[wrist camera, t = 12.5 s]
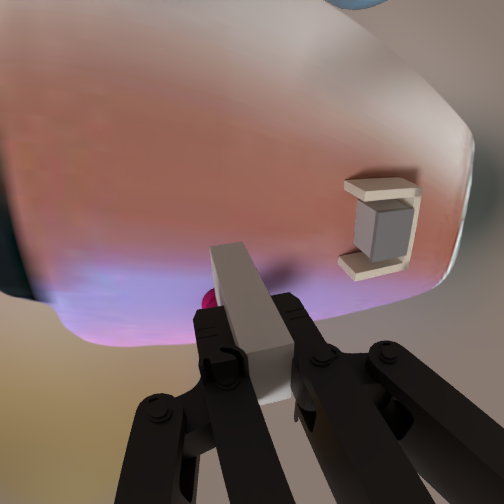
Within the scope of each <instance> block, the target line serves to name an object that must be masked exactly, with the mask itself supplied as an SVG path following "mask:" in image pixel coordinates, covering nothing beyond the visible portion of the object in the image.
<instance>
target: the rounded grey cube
mask: <svg viewBox="0 0 504 504" xmlns="http://www.w3.org/2000/svg"><path fill="white" fill-rule="evenodd" d="M414 210H415V209H414V208H413V207H408V206H406V205H404V204H402V203H401V202H399V201H397V200H395V199H386V200H375V201H365V202H364V201H362V200H357V211H356V222H355V232H354V241H353V244H354V245H355V246H357V247H358V248H359V249H360V250H361V251H362V252H363V253H364V254H366V255H367V256H368V257H369V258H370V259H369V260H370V261H371V262H372V263H373V262H377V261H382V260H387V259H392V258H396V257H401V256H406V255H407V250H408V245H409V240H410V234H411V229H412V223H413V217H414Z"/></svg>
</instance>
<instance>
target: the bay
mask: <svg viewBox="0 0 504 504" xmlns="http://www.w3.org/2000/svg"><path fill="white" fill-rule="evenodd" d="M344 190H346V191H348V192H349V193H351V194H353V195H354V196H356V197H358V198H359V199H361V200H362V201H364V202H365V201H375V200H386V199H395V200H397V201H399V202H401V203H402V204H404V205H406V206H408V207H413V208H414V209H415V210H414V217H413V223H412V229H411V234H410V240H409V245H408V250H407V255H406V256H401V257H396V258H392V259H387V260H382V261H377V262H373V263H372V262H371V261H370V260H369V259H370V258H369V257H368V256H367V255H366V254H364V253H363V252H358V253H353V254H347V255H342V256H339V258H338V264H339V265H340V266H341V267H342V268H343V270H344V271H345V272H346V273H347V274H348V275H349V276H350V277H351V278H352V279H353V280H354V281H359V280H363V279H368V278H372V277H376V276H380V275H385V274H389V273H393V272H397V271H401V270H405V269H408V266H409V261H410V257H411V252H412V247H413V242H414V237H415V231H416V226H417V220H418V214H419V207H420V200H421V193H422V187H420V186H418V185H416V184H414V183H412V182H410V181H407V180H405V179H403V178H401V177H389V178H370V179H354V180H344Z"/></svg>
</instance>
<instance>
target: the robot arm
mask: <svg viewBox="0 0 504 504" xmlns="http://www.w3.org/2000/svg"><path fill="white" fill-rule="evenodd" d="M325 1H327V2H328V3H330V4H332V5H334V6H336V7H338V8H341V9H349V10H360V9H366V8H370V7H373V6H376V5H378V4H381V3H383V2H385V1H387V0H325ZM209 248H210V257H211V265H212V273H213V280H214V288H215V295H216V300H217V304H218V306H217V307H211V308H205V309H199V310H197V311H196V314H195V316H194V318H193V323H194V330H195V336H196V342H197V348H198V354H199V365H198V366H199V370H200V374H201V378H200V380H199V382H198V383H197V385H196V386H195V387H194V388H193V389H192V390H190V391H188V392H186V393H184V394H182V395H180V396H178V397H173V396H172V395H169V394H164V393H160V394H154V395H151V396H149V397H146V398H145V399H144V400H143V401H142V402H141V403H140V404H139V406H138V408H137V410H136V413H135V417H134V421H133V425H132V429H131V432H130V436H129V441H128V444H127V448H126V452H125V457H124V461H123V465H122V469H121V474H120V478H119V483H118V487H117V492H116V497H115V502H114V504H196V496H197V495H196V494H197V484H198V473H199V462H200V454H203V453H204V452H206V451H209V450H211V449H213V448H215V447H216V448H217V453H218V457H219V461H220V465H221V469H222V474H223V478H224V482H225V485H226V489H227V493H228V497H229V501H230V504H296V503H295V501H294V498H293V496H292V493H291V491H290V488H289V485H288V483H287V480H286V478H285V475H284V472H283V469H282V467H281V464H280V461H279V459H278V456H277V453H276V450H275V448H274V445H273V442H272V439H271V436H270V434H269V431H268V428H267V426H266V422H265V420H264V417H263V414H262V411H261V408H260V405H264V404H267V403H272V402H276V401H280V400H284V399H288V398H290V397H291V390H292V392H293V394H294V396H295V399H296V402H295V411H294V420H295V422H297V421H298V417H299V419H300V421H301V423H302V426H303V428H304V430H305V433H306V435H307V437H308V439H309V442H310V444H311V446H312V449H313V451H314V453H315V455H316V458H317V460H318V462H319V464H320V467H321V469H322V471H323V473H324V476H325V478H326V480H327V482H328V485H329V487H330V489H331V491H332V494H333V496H334V498H335V500H336V502H337V504H435V502H434V500H433V499H432V497H431V495H430V494H429V492H428V490H427V489H426V487H425V485H424V484H423V482H422V481H421V479H420V477H419V475H420V476H421V477H422V478H424V480H426V481H427V482H428V483H429V484H430V485H431V486H432V487H433V488H434V489H435V490H436V491H437V492H438V493H439V494H440V495H441V496H442V497H443V498H445V499H446V500H447V501H448V502H449V503H450V504H504V428H503V427H501V426H500V425H499V424H498V423H496V422H495V421H494V420H493V419H492V418H490V417H489V416H488V415H487V414H486V413H484V412H483V411H482V410H481V409H480V408H478V407H477V406H476V405H475V404H473V403H472V402H471V401H470V400H469V399H467V398H466V397H465V396H464V395H463V394H461V393H460V392H459V391H458V390H456V389H455V388H454V387H453V386H451V385H450V384H449V383H448V382H446V381H445V380H444V379H443V378H442V377H440V376H439V375H438V374H437V373H435V372H434V371H433V370H432V369H430V368H429V367H428V366H427V365H425V364H424V363H423V362H422V361H420V360H419V359H418V358H417V357H415V356H414V355H413V354H412V353H410V352H409V351H408V350H407V349H405V348H404V347H403V346H401V345H400V344H398V343H396V342H392V341H380V342H377V343H374V344H373V345H372V346H371V347H370V350H369V353H353V354H351V353H343V352H341V351H340V350H339V349H338V348H337V347H335V346H333V345H331V344H327V343H326V342H325V340H324V338H323V337H322V335H321V333H320V332H319V330H318V329H317V327H316V326H315V324H314V322H313V321H312V319H311V317H309V314H308V313H307V311H306V309H304V306H303V305H302V303H301V301H300V300H299V299H298V298H297V297H295V296H294V295H292V294H291V293H289V292H288V293H282V294H277V295H272V296H270V294H269V292H268V290H267V288H266V286H265V284H264V283H263V281H262V279H261V277H260V275H259V273H258V271H257V269H256V267H255V265H254V263H253V261H252V259H251V257H250V255H249V253H248V251H247V249H246V247H245V245H244V243H243V242H237V243H230V244H224V245H217V246H211V247H209ZM417 473H418V474H419V475H418V474H417Z"/></svg>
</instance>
